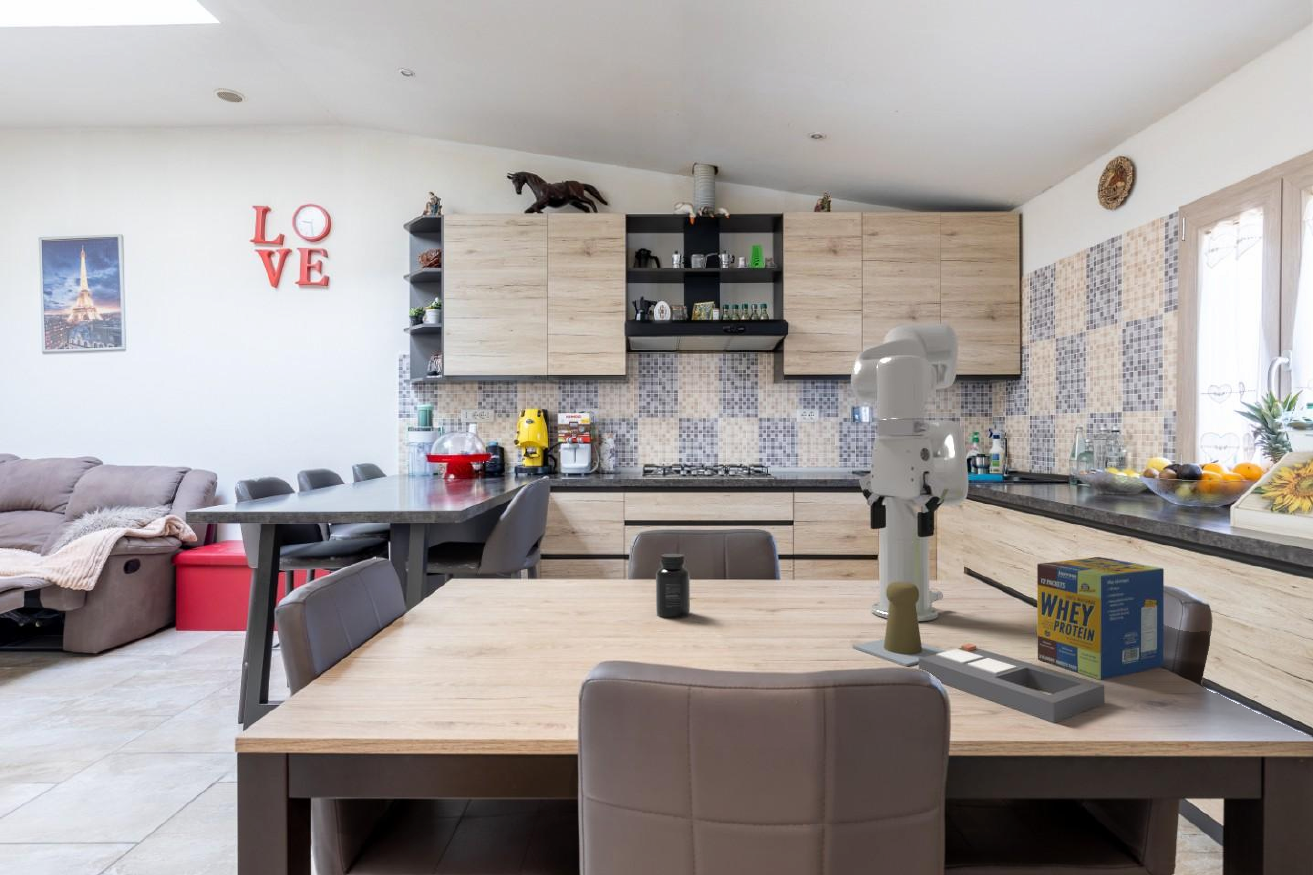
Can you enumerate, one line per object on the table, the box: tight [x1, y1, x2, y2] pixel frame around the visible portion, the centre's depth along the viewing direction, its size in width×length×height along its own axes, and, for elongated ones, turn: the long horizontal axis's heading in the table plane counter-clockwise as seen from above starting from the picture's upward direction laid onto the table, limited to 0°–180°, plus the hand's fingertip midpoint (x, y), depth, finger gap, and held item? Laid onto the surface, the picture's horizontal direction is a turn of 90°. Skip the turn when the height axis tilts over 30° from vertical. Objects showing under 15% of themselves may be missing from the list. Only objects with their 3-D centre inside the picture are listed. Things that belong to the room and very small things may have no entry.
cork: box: [884, 582, 922, 655], centre depth 113 cm, size 6×6×11 cm
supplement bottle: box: [655, 553, 691, 619], centre depth 138 cm, size 7×7×12 cm
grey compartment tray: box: [918, 643, 1105, 724], centre depth 96 cm, size 12×20×3 cm, turn 30°
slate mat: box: [852, 638, 947, 667], centre depth 113 cm, size 11×11×1 cm
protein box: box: [1036, 556, 1165, 681], centre depth 107 cm, size 10×15×16 cm
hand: (901, 532), depth 114 cm, fingers open, 9 cm apart
